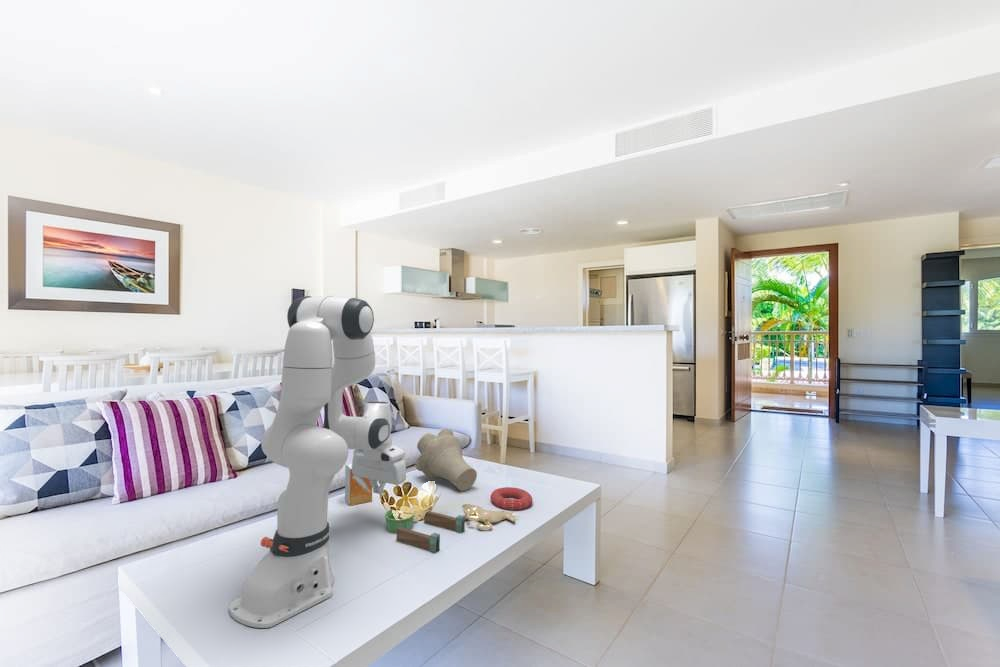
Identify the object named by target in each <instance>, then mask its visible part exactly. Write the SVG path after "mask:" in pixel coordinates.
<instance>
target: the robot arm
mask: <svg viewBox="0 0 1000 667" xmlns="http://www.w3.org/2000/svg"><path fill="white" fill-rule="evenodd" d="M374 317H375V316H374V310H373V308H372V306H370V304H369V303H368V301H366V300H364V299H360V298H355V297H352V298H350V297H349V298H348V297H343V296H342V297H341V296H333V295H319V296H318V295H317V296H311V295H310V296H309V295H306V296H302V297H298V298H296V299H294V300H292V302H291V304H290V305H289V307H288V310H287V316H286V318H287V324H288V327H289V329H288V332H287V334H286V335H287V336H286V340H285V344H284V350H283V356H282V370H281V385H280V387H281V388H280V397H279V401H278V406H277V409H276V412H275V415H274V418H273V421H272V423H271V425H270V426H268V427H267V429H266V430H265V431H264V434H263V435H262V438H261V442H260V443H261V444H260V446H261V449H262V450H261V451H262V452H263V453H264V455H265V456H266V457H267V458H268V459H269V460H270V461H271V462H273V464H276V465H278V466H280V467H283V468H286V469H288V471H289V477H288V478H289V479H288V482H287V485H286V489H285V490H283V491H282V492H281V494H280V495H279V497H278V498H277V518H276V520H277V521H276V522H277V526H276V527H277V529H276V530H275V533H274V535H273V538H269V537H267V536H264V537H263V538H261V540H260V546H261V547H263V548H267V549H269V551H268V552H267V553H266V554H265V555H264V556H263V558H262V559H261V560H260V561H259V562H258V563H257V565H256V566H255V567H254V568H253V569H252V570H251V572H250V573H249V574H248V575H246V576H245V579H244V581H243V583H242V584H243V585H242V589H241V595H240V596H239V597H237V598H236V599H235V600H234V601H232V602H231V603H229V606H228V612H229V613H228V614H229V615H230V616H231V618H233V619H234V620H235V621H237V622H239V623H241V624H243V625H244V626H245V625H246V626H248V627H252V628H258V629H269V628H271V627H274V626H276V625H278V624H280V623H281V622H283V621H286V620H288V619H289V618H292V617H293V616H295V615H296V616H297V614H299V613H301V612H304V611H305V610H307V609H309V608H311V607H314V606H315V605H317V604H319V603H321V602H323V601H325V600H326V599H328V598H331V597H332V596H333V584H334V581H335V577H334V575H333V572H332V567H331V562H330V553H329V544H328V543H329V540H330V522H329V521H328V512H329V510H328V508H329V493H330V489H331V485H332V482H333V481H334V478H335V476H336V474H338V473H339V472H340V471H341V470H342V469H343V467H344V466H345V465H346V463H347V460H348V456H349V450H353V457H352V462H351V464H352V473H353V475H354V476H359V477H363V478H368V479H370V483H371V485H372V494H373V493H375V494H377V495H382V494H384V492H385V491H384V488H385V486H386V484H390V485H395V486H400V485H401V484H403V483H404V482H405V481H406V479H407V465H406V461H405V459H404V458H405V455H406V453H405V451H404V450H403V449H402V448H400V447H398V446H397V445H395V444H394V443H393V438H392V434H391V433H392V428H393V424H392V423H393V421H392V419H393V418H392V410H391V406H390V403H389V402H387V401H377V400H376V401H372V400H371V401H367V402H366V403H365V405H364V411H363V415H362V416H348V415H346V414H344V413H343V394H344V393H343V391H344V389H345V388H349V387H351V386H354V385H356V384H359V383H361V382H363V381H364V380H366V379H368V377H370V375H371V374H372V373H373V371H374V370H375V368H376V352H375V351H376V350H375V346H374V340H373V336H372V332H371V331H372V329H373V327H374V321H375V320H374V319H375V318H374ZM333 358H334V359H333ZM322 409H324V416H323V425H322V427H321V426H318V421H319V416H320V414H321V411H322Z"/></svg>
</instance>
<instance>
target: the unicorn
mask: <svg viewBox="0 0 1000 667" xmlns="http://www.w3.org/2000/svg"><path fill="white" fill-rule="evenodd" d="M461 507H462V508H463V509H464V511H463V515H462V516H465V521H466V520H469V521H472V522H473V521H474V522H475V521H476V522H480V523H483V524H480V523H476V527H477V529H479V530H484V531H485V530H492V529H493V524H497V523H499V522H501V521H505V520H509V521H511V522H516V518H518V517H520V515H515V512H514V511H513V512H509V511H505V510H501V511H499V510H488V509H484V508H482V507H481V506H479V505H475V504H470V503H463V504H461Z"/></svg>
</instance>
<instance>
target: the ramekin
mask: <svg viewBox="0 0 1000 667" xmlns="http://www.w3.org/2000/svg"><path fill="white" fill-rule="evenodd" d="M414 516H415V514H413V515H412V516H411V517H409V518H406V519H400V520H396V519H395V518H394V516H393V513H392V509H390V510H387V511H386V512H385V513H384V517H385V522H386V523H385V526H386V530H387V531H388V532H390V533H393V534H394V533H395V534H397V529H398V528H399V527H402V528H405V529H409V530H412V528H413V526H414V518H413V517H414Z"/></svg>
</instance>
